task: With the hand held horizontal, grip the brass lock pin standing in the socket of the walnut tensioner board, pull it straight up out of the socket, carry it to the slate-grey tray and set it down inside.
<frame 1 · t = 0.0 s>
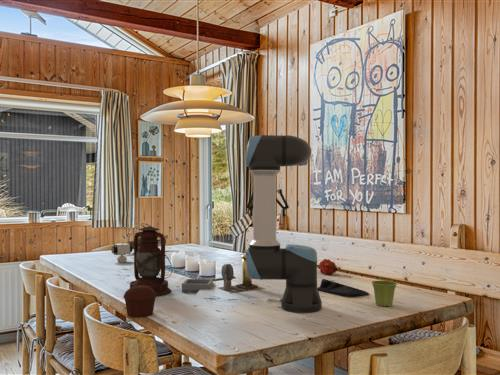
hand: (267, 223, 233), 28 cm above the table, tool pointing down, fingers open, 13 cm apart
pneumatic valve: (122, 262, 296), on the table
plant pot: (384, 305, 188), on the table
dark slate chunk: (341, 293, 212), on the table
wood carving: (146, 252, 341), on the table
lock pin: (247, 287, 213), point 1 cm above the table, touching tensioner board
muffin: (140, 314, 174), on the table
red bumpy oval lump: (328, 274, 255), on the table
tray: (197, 289, 217), on the table
lantern: (149, 292, 210), on the table
tensioner board: (241, 291, 212), on the table
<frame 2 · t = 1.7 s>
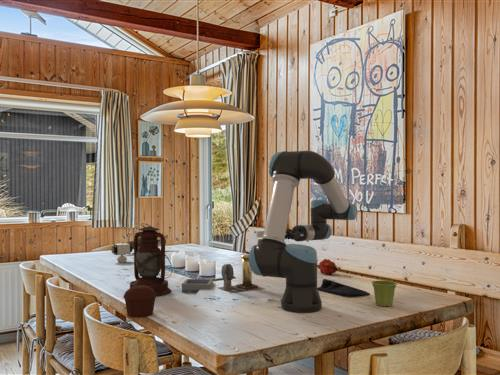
hand: (265, 235, 219), 24 cm above the table, tool horizontal, fingers open, 13 cm apart
nothing on the table moved.
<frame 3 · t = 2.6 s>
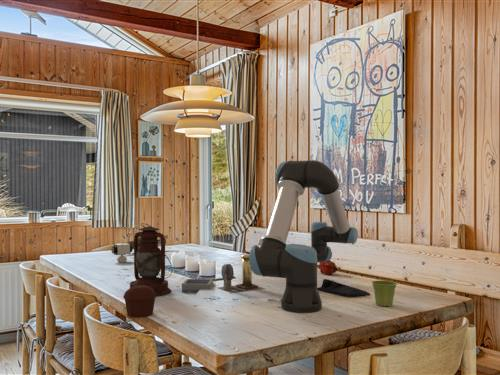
hand: (265, 260, 219), 12 cm above the table, tool horizontal, fingers open, 13 cm apart
nothing on the table moved.
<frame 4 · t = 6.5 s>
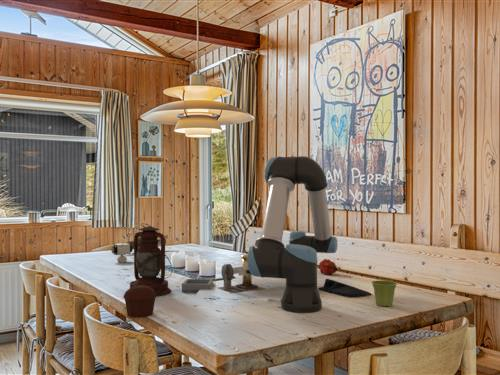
hand: (236, 271, 211), 9 cm above the table, tool horizontal, fingers closed on lock pin, 4 cm apart
lock pin: (247, 287, 213), point 2 cm above the table, touching gripper, tensioner board
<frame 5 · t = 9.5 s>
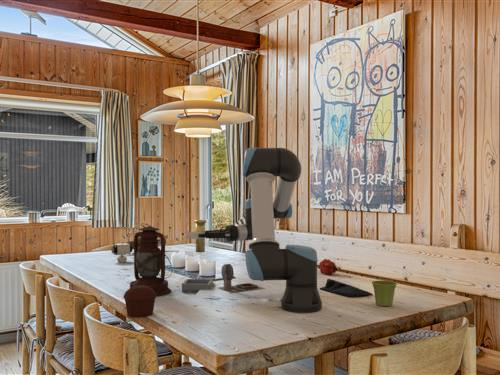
hand: (189, 235, 214), 24 cm above the table, tool horizontal, fingers closed on lock pin, 4 cm apart
lock pin: (200, 251, 217), point 17 cm above the table, touching gripper
when the fingers open (10 cm above the table, at t = 12.5 s): lock pin drops 1 cm, resting on tray.
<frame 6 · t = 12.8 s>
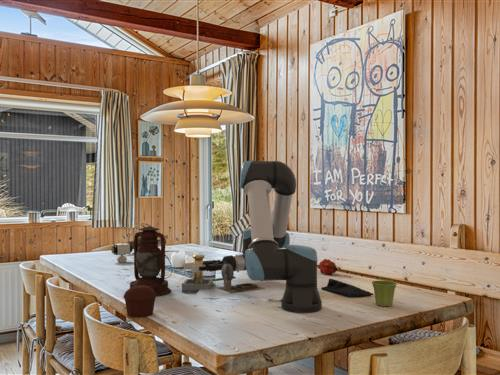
hand: (187, 267, 214), 10 cm above the table, tool horizontal, fingers open, 7 cm apart
lock pin: (197, 287, 217), point 1 cm above the table, touching tray
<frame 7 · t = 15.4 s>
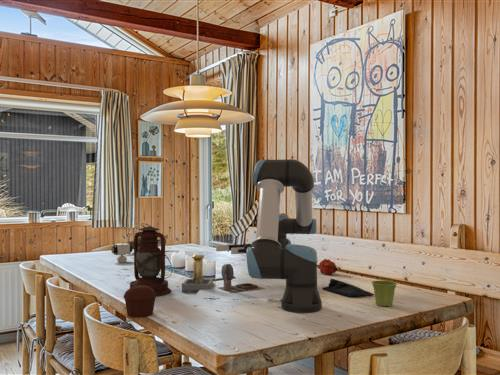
hand: (223, 249, 222), 17 cm above the table, tool horizontal, fingers open, 13 cm apart
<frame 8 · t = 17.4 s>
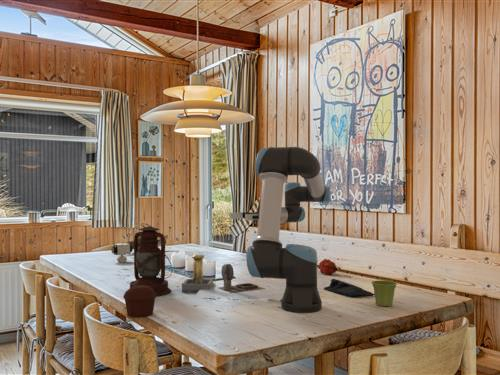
hand: (237, 216, 221), 32 cm above the table, tool horizontal, fingers open, 13 cm apart
at the end: lock pin inside the target area on the tray (0.1 cm from its centre), point 1.0 cm above the tray's base; the gripper is holding nothing; lock pin moved 22.0 cm from its start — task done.
